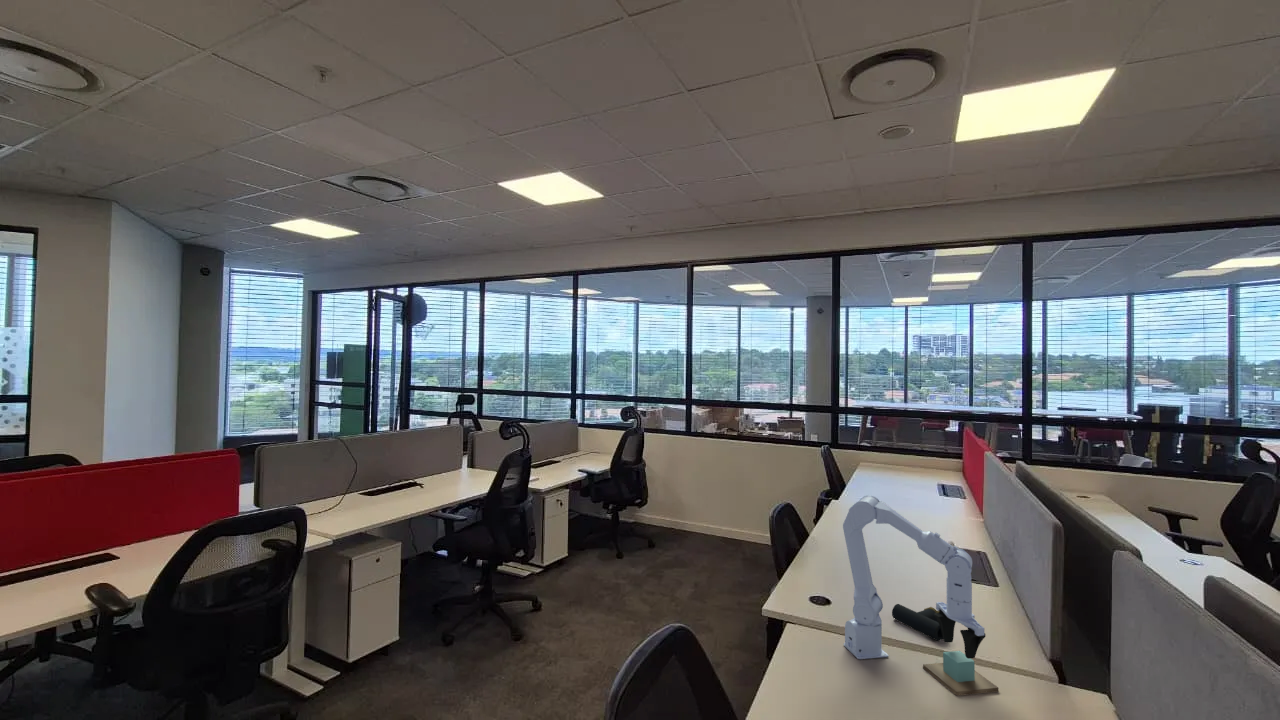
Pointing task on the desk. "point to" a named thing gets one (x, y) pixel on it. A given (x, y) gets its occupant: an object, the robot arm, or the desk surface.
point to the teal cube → (958, 666)
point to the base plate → (960, 687)
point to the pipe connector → (919, 620)
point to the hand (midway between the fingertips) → (959, 649)
